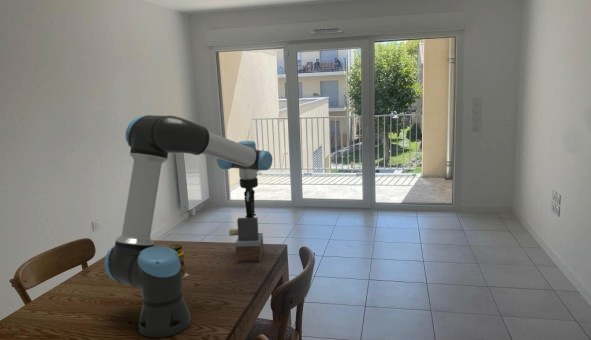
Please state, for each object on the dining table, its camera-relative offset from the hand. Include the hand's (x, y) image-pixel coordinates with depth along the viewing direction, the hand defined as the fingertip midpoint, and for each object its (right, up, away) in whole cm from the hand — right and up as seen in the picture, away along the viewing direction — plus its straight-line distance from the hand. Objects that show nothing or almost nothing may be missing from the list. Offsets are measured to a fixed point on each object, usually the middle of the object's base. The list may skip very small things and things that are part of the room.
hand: (251, 231), depth 188 cm
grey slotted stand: (-1, -5, -3) cm, 6 cm away
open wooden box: (0, -11, -2) cm, 11 cm away
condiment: (-28, -15, -19) cm, 37 cm away
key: (-5, -1, +1) cm, 6 cm away
